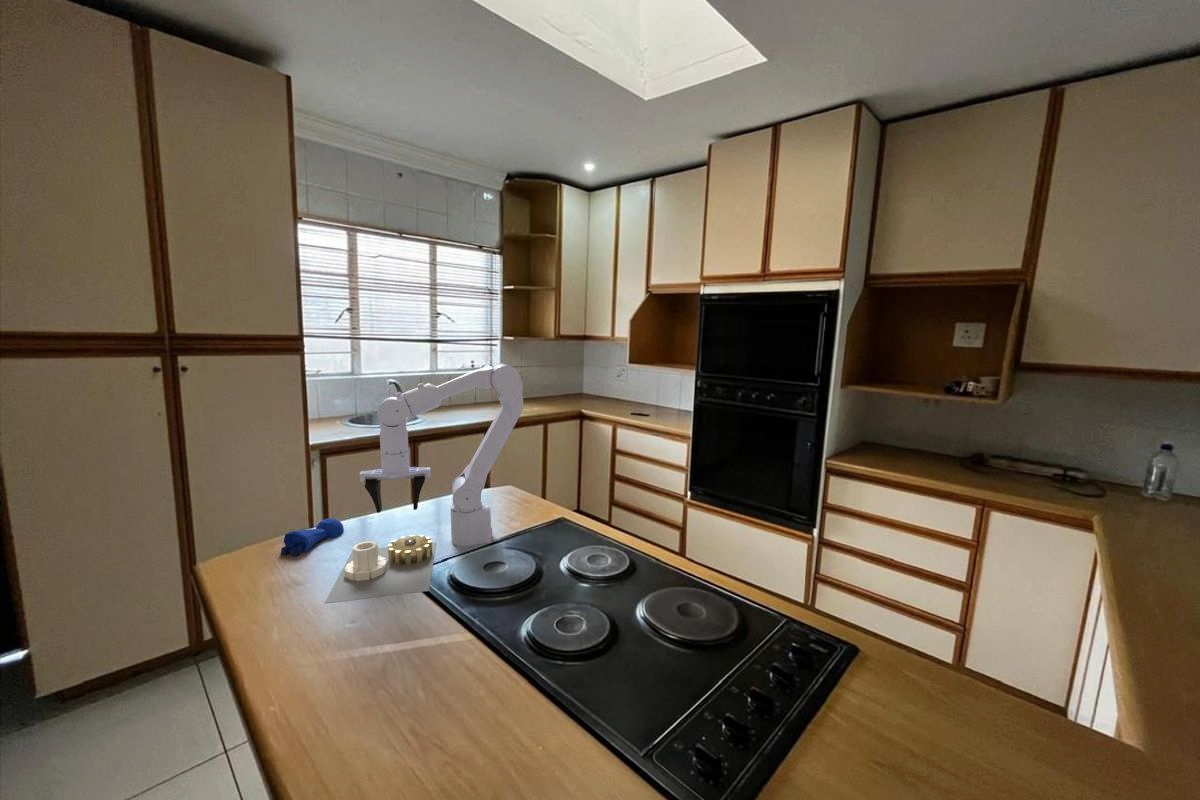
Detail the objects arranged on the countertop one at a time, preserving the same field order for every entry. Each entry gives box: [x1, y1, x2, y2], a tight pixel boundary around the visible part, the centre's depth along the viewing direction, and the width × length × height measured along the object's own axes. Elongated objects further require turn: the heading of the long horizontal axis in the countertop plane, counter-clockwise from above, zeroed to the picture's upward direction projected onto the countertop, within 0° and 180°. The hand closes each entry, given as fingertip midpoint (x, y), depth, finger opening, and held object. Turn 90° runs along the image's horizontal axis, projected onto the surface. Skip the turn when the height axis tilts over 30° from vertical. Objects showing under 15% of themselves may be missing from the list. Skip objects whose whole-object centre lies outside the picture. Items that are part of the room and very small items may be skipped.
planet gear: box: [344, 540, 387, 581], centre depth 99 cm, size 8×8×6 cm
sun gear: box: [387, 534, 433, 566], centre depth 106 cm, size 9×9×4 cm
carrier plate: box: [324, 542, 437, 604], centre depth 101 cm, size 18×22×1 cm
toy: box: [280, 518, 344, 558], centre depth 113 cm, size 7×6×15 cm
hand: (397, 509), depth 109 cm, fingers open, 7 cm apart
